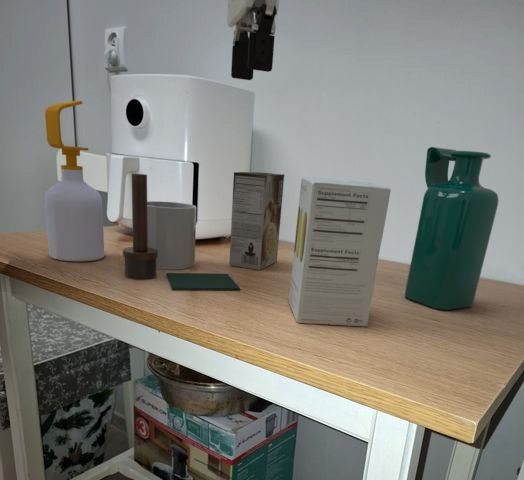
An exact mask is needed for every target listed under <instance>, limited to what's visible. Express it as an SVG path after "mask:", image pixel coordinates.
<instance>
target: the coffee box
mask: <svg viewBox="0 0 524 480" xmlns="http://www.w3.org/2000/svg"><path fill="white" fill-rule="evenodd" d="M284 181H285V174H280V173H270V172H258V171H237V172H235V171H234V172H233V182H232V183H233V184H232V186H233V187H232V204H231V222H230V226H231V227H230V245H229V261H228V262H229V266H231V267H237V268H244V269H250V270H257V271H262V270H264V269H265V268H267V267H269V266H271V265H273V264H276V263H277V262H278V251H279V242H280V240H279V239H280V229H281V218H282V216H281V215H282V206H283V196H284V195H283V194H284V183H285V182H284Z"/></svg>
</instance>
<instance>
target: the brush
mask: <svg viewBox="0 0 524 480" xmlns="http://www.w3.org/2000/svg"><path fill="white" fill-rule="evenodd" d="M147 201H148V175H147V174H145V173H131V214H132V215H131V217H132V218H131V219H132V225H131V226H132V246H129V247H124V248H123V249H122V257H123V259H124V261H123V262H124V276H125V277H126V278H127V279H132V280H151V279H155V278H156V277H157V269H156V258H157V257H158V251H157V250H156V249H153V248H148V223H147Z"/></svg>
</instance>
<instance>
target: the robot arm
mask: <svg viewBox="0 0 524 480" xmlns="http://www.w3.org/2000/svg"><path fill="white" fill-rule="evenodd" d="M227 3H228V4H227V13H226V15H227V16H226V24H227V25H228V27H229V28H233V27H234V26H235V28H234V31H233V39H232V48H231V66H230V67H231V70H230V73H231V74H230V76H231V78H232V79H237V80H245V81H252V80H253V78H254V71H259V72H269V73H270V72H271V71H273V62H274V49H275V37H276V36H275V33H276V26H277V25H276V18H277V16H278V12H279V5H280V0H228V2H227Z"/></svg>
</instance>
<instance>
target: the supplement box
mask: <svg viewBox="0 0 524 480" xmlns="http://www.w3.org/2000/svg"><path fill="white" fill-rule="evenodd" d="M300 180H301V181H300V190H299V198H298V199H299V200H298V207H297V208H298V209H297V218H296V228H295V237H294V245H293V254H292V255H293V256H292V264H291V272H290V273H291V274H290V282H289V293H288V304H289V306H290V309H291V313H292V314H293V317H294V319H295V322H296V323H297V324H310V325H311V324H312V325H328V324H329V325H330V326H331V325H332V326H347V327H348V326H349V327H363V328H364V327H365V328H367V327H368V322H369V316H370V311H371V304H372V299H373V292H374V288H375V281H376V275H377V270H378V264H379V255H380V250H381V246H382V241H383V235H384V231H385V225H386V220H387V215H388V209H389V208H388V207H389V203H390V196H391V192H392V190H391V188H389V187H383V186H381V185H377V184H373V183H371V182H365V181H364V182H363V181H353V180H345V179H344V180H342V179H330V178H320V177H309V176H308V177H307V176H303V177H301V179H300Z"/></svg>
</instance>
